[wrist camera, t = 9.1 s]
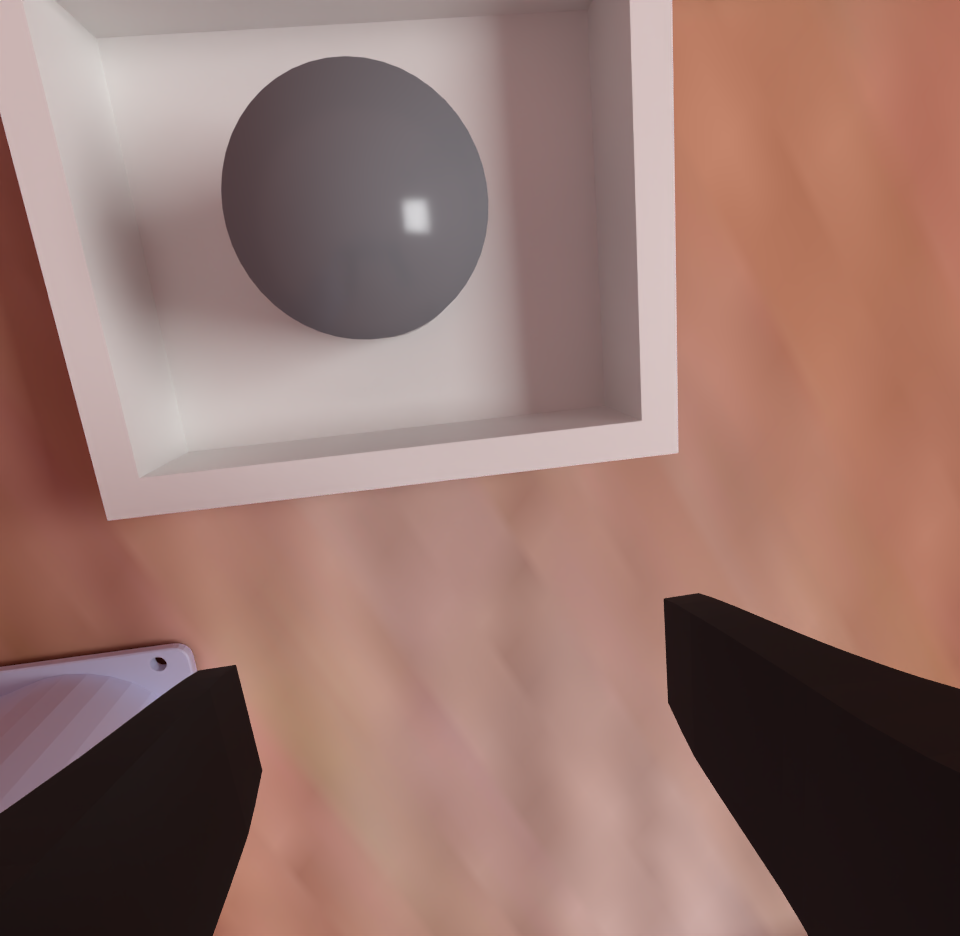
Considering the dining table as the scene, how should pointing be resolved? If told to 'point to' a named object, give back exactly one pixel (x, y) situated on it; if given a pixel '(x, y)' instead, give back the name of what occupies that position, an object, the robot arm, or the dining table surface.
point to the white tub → (307, 352)
